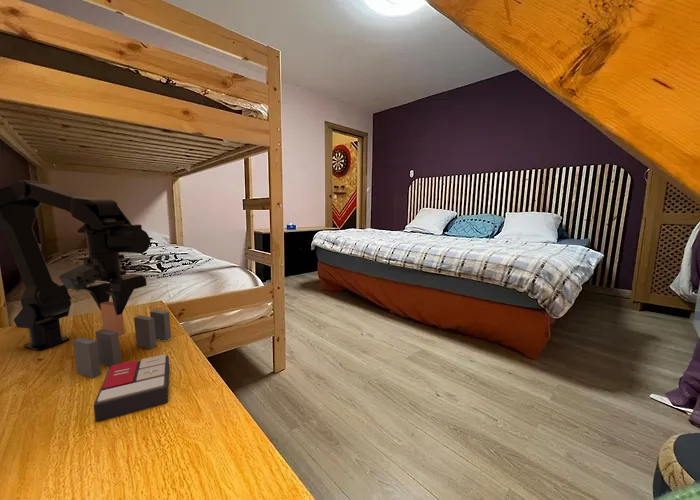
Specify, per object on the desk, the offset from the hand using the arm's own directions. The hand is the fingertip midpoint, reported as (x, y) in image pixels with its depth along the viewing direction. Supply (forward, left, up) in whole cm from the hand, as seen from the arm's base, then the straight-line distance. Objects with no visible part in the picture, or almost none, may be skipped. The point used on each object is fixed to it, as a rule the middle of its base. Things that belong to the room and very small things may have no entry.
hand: (111, 313), depth 74 cm
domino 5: (+5, +9, -10) cm, 14 cm away
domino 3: (+5, -5, -10) cm, 12 cm away
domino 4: (+5, +4, -10) cm, 12 cm away
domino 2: (0, 0, -6) cm, 6 cm away
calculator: (+20, -9, -11) cm, 24 cm away
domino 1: (+5, -9, -10) cm, 15 cm away
